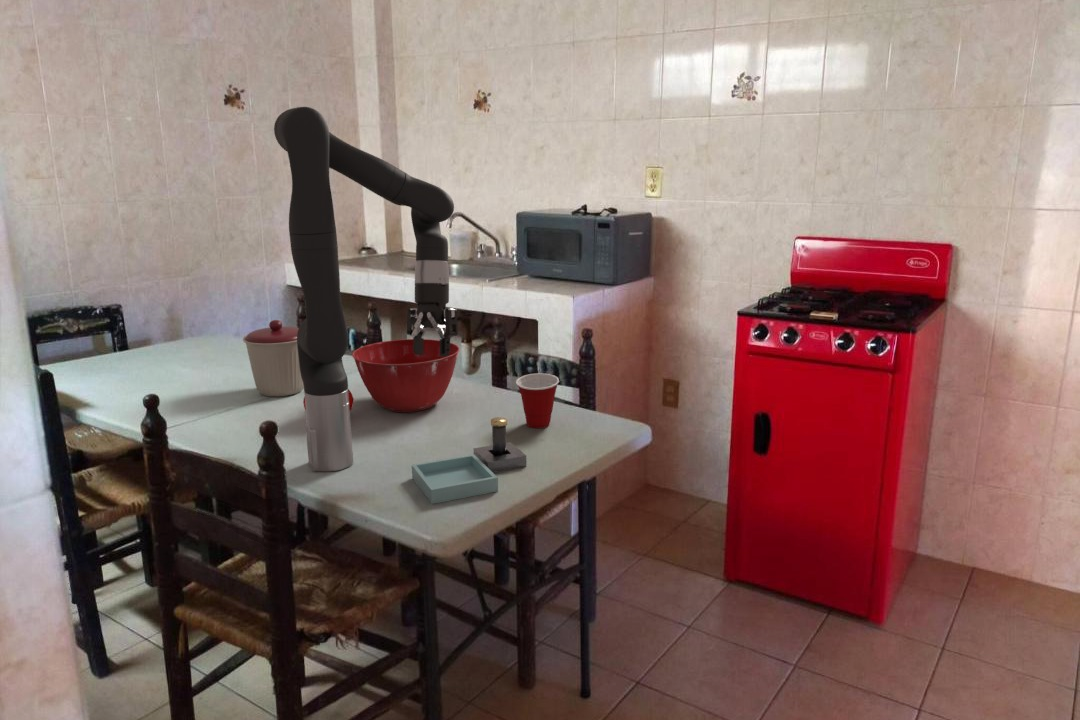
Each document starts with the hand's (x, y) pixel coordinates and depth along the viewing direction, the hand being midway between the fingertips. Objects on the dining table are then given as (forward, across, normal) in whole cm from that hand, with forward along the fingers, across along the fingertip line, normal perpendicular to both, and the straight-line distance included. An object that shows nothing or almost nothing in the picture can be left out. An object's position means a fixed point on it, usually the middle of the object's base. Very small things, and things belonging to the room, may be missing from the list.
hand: (431, 355), depth 174 cm
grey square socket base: (+24, +12, +10) cm, 28 cm away
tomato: (+18, -41, +2) cm, 45 cm away
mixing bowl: (+15, -35, +23) cm, 44 cm away
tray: (+26, +13, -5) cm, 30 cm away
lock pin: (+24, +12, +10) cm, 28 cm away
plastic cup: (+18, +3, +34) cm, 38 cm away
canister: (+14, -72, +7) cm, 73 cm away
